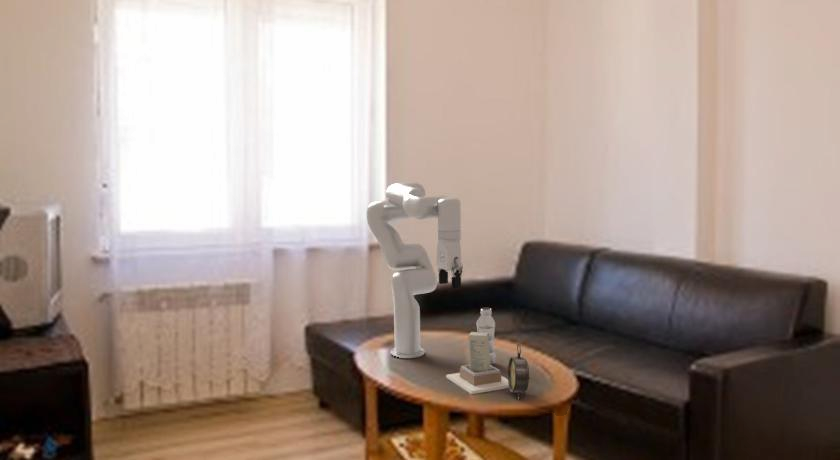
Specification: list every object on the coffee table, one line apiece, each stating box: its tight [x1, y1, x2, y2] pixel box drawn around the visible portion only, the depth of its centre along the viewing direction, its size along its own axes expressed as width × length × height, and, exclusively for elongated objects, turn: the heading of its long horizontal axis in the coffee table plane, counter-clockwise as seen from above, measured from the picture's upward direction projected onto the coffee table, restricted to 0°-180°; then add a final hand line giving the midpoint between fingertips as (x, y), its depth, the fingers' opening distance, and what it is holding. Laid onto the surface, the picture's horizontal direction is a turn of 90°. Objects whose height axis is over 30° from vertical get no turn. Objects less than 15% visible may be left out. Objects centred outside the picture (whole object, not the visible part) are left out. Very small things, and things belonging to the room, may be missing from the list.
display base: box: [445, 364, 509, 395], centre depth 246 cm, size 18×16×5 cm
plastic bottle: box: [476, 307, 497, 366], centre depth 264 cm, size 6×7×20 cm
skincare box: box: [467, 331, 490, 372], centre depth 245 cm, size 6×4×12 cm
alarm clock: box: [507, 343, 530, 398], centre depth 232 cm, size 11×5×16 cm, turn 5°
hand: (449, 286), depth 251 cm, fingers open, 9 cm apart
